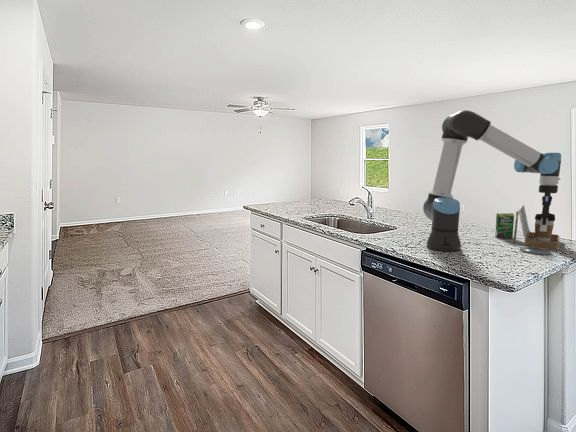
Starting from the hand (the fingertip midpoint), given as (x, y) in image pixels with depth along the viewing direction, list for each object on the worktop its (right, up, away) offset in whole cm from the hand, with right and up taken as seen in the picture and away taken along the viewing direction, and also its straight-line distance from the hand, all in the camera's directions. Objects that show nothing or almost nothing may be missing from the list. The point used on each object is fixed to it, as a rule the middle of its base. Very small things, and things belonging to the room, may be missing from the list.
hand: (543, 229), depth 182 cm
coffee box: (-11, -5, +16) cm, 20 cm away
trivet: (-13, -10, -13) cm, 21 cm away
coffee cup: (0, -7, +1) cm, 7 cm away
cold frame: (-2, -7, +3) cm, 8 cm away
